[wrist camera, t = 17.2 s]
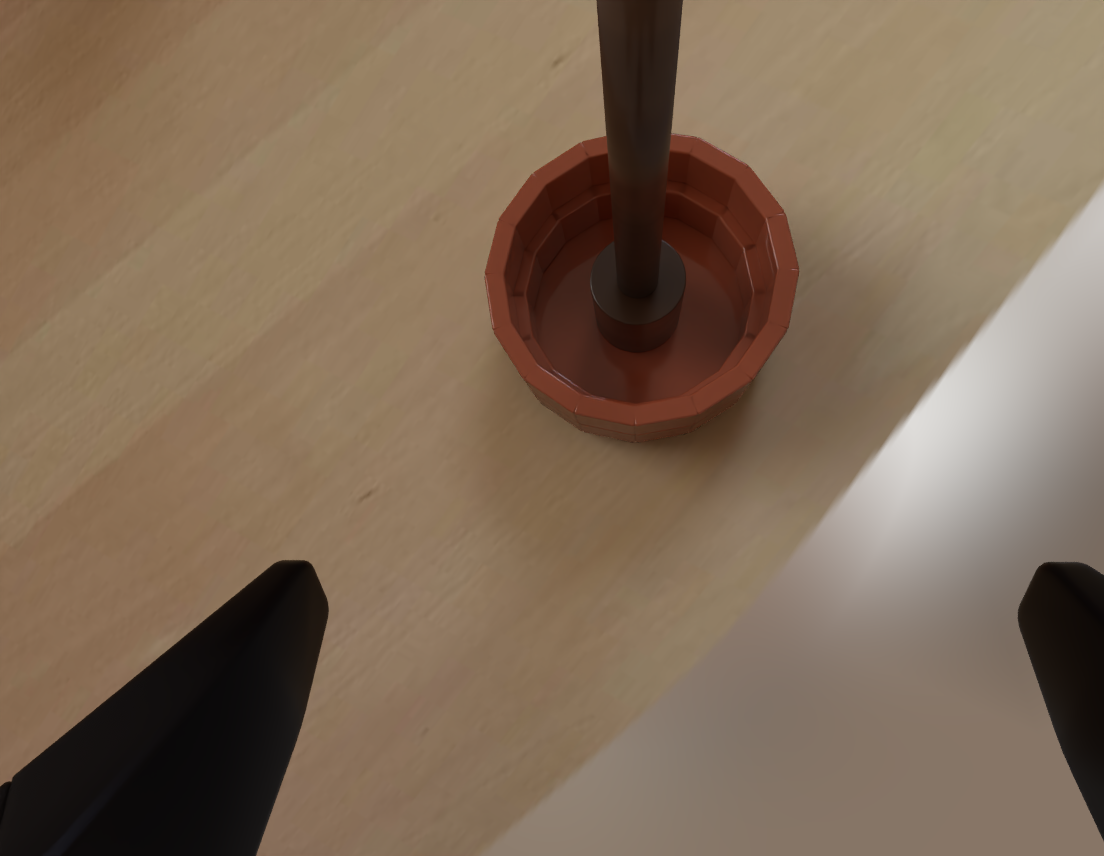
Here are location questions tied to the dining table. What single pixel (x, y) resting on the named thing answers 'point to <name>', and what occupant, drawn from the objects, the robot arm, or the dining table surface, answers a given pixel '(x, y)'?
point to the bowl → (707, 309)
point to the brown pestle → (638, 174)
